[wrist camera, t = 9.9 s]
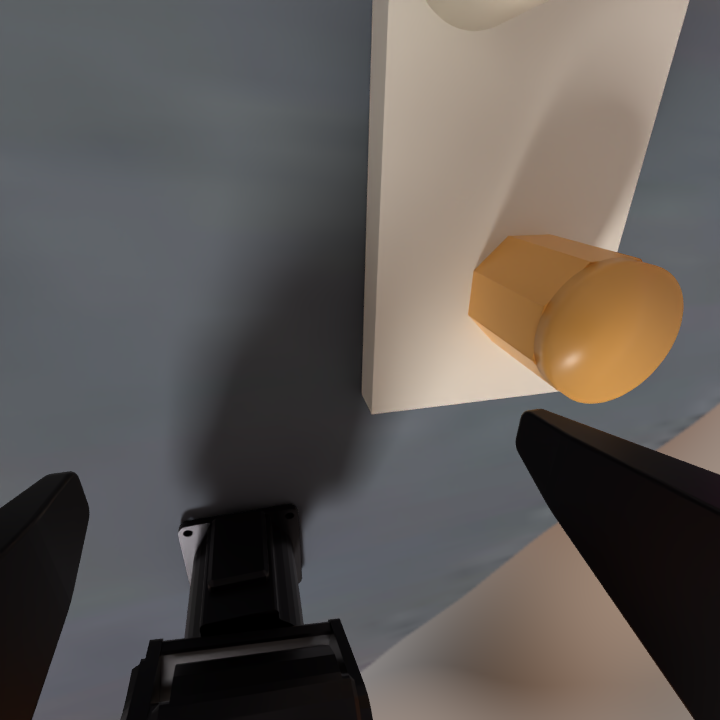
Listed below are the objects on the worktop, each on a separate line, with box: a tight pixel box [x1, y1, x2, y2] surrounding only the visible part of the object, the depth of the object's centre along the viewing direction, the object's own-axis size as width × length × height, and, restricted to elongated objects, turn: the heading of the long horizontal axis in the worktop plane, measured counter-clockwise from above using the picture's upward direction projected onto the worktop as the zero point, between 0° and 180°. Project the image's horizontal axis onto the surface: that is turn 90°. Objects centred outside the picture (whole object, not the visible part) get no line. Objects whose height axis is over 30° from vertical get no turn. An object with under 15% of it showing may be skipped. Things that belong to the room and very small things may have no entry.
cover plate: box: [362, 0, 689, 414], centre depth 16 cm, size 20×12×8 cm, turn 178°
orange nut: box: [468, 234, 683, 404], centre depth 17 cm, size 5×5×6 cm
